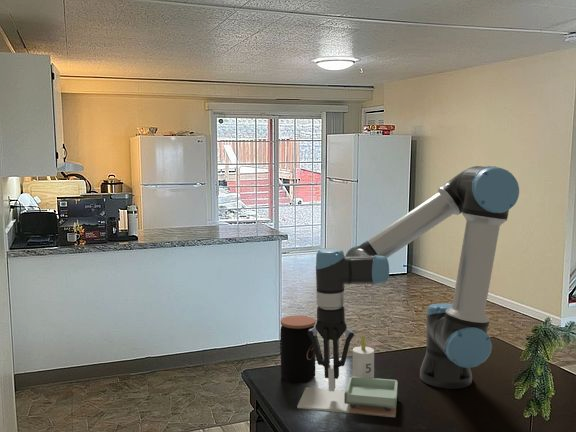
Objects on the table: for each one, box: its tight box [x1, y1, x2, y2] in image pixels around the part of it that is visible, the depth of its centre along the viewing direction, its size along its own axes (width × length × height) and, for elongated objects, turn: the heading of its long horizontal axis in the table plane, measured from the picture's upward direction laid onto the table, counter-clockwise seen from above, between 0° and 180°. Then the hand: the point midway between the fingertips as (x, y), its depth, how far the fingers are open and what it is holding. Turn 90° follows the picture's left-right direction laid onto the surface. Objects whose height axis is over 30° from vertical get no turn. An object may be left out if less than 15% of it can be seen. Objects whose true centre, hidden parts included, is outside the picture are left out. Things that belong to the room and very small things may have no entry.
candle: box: [352, 334, 375, 378], centre depth 161 cm, size 6×6×15 cm
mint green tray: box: [344, 375, 399, 411], centre depth 148 cm, size 13×12×4 cm
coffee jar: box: [280, 315, 316, 384], centre depth 166 cm, size 11×11×18 cm
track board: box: [297, 386, 398, 418], centre depth 149 cm, size 26×13×1 cm, turn 77°
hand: (332, 389), depth 150 cm, fingers closed
